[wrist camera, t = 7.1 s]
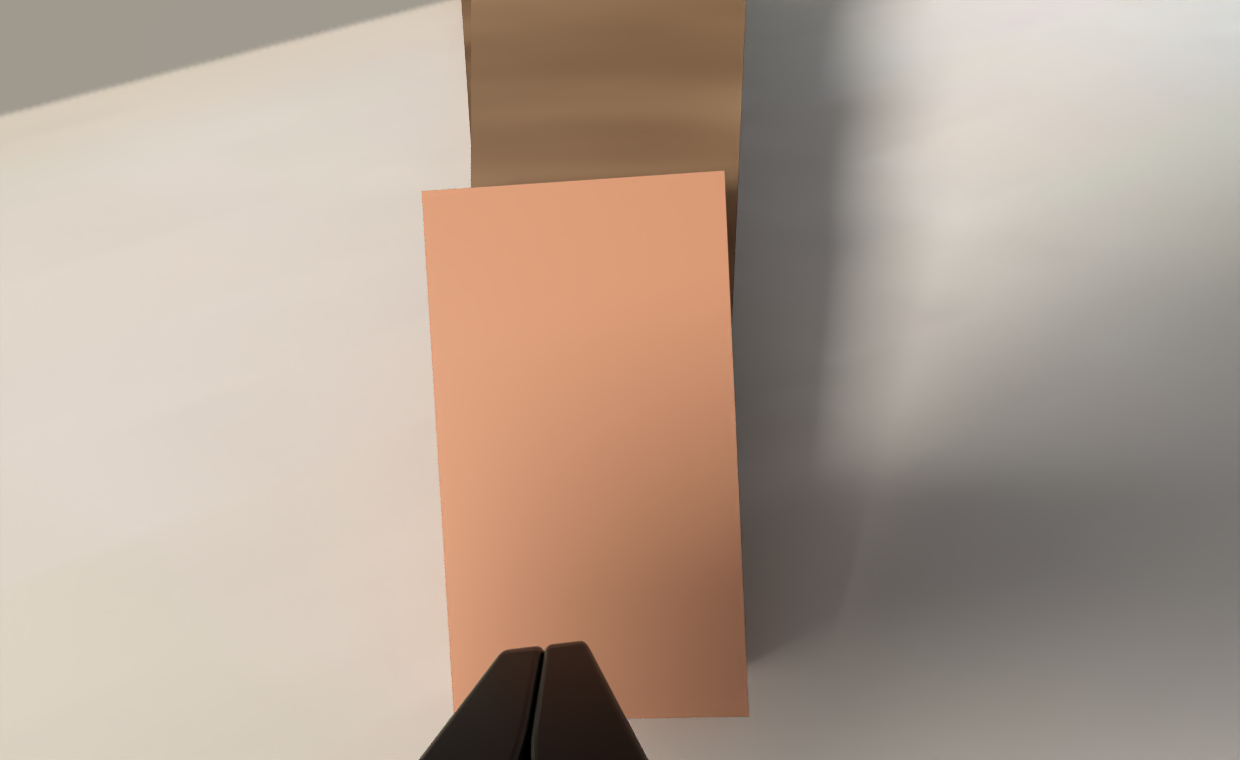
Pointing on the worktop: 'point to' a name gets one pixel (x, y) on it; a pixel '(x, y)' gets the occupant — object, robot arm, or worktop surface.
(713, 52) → the walnut domino
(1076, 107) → the worktop surface
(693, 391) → the terracotta domino
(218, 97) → the worktop surface
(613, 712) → the robot arm
